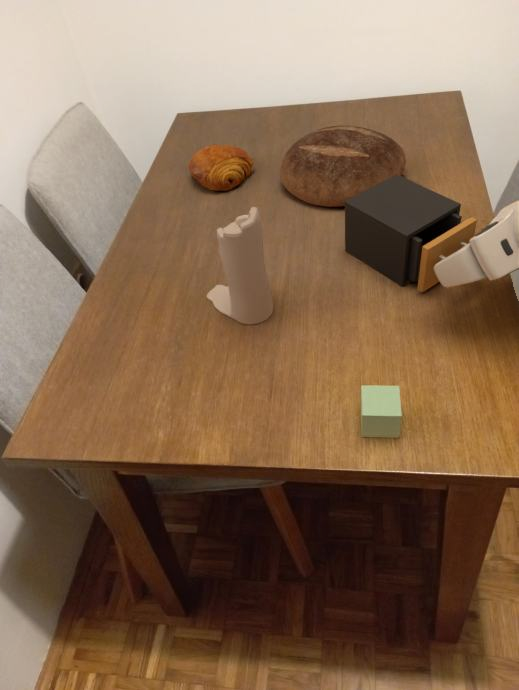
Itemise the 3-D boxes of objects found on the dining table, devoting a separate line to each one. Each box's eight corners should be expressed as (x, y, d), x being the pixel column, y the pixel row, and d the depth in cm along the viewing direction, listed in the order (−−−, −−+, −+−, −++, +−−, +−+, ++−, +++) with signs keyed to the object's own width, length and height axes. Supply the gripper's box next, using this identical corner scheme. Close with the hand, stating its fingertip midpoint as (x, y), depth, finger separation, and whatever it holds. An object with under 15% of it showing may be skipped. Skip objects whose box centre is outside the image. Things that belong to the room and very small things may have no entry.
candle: (223, 279, 98) (202, 182, 84) (281, 305, 91) (269, 205, 77) (197, 301, 95) (169, 204, 80) (255, 330, 88) (236, 229, 73)
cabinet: (452, 255, 95) (461, 203, 87) (402, 287, 91) (406, 235, 83) (393, 223, 104) (396, 174, 96) (345, 250, 100) (344, 201, 92)
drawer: (489, 273, 89) (500, 230, 82) (442, 305, 85) (450, 261, 79) (410, 231, 100) (414, 189, 93) (366, 257, 96) (367, 215, 90)
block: (397, 407, 74) (399, 385, 70) (399, 438, 70) (402, 416, 67) (360, 407, 74) (361, 385, 71) (361, 437, 71) (361, 415, 67)
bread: (311, 145, 130) (309, 104, 123) (418, 158, 120) (423, 115, 112) (262, 199, 116) (256, 157, 109) (379, 220, 105) (381, 175, 98)
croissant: (207, 207, 120) (200, 178, 114) (184, 171, 129) (177, 142, 123) (264, 186, 123) (261, 156, 116) (237, 152, 132) (233, 123, 125)
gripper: (565, 181, 75) (493, 213, 88) (467, 242, 68) (405, 267, 81) (585, 220, 75) (510, 247, 88) (490, 284, 68) (424, 303, 82)
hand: (459, 257), depth 85 cm, fingers closed on drawer, 6 cm apart
